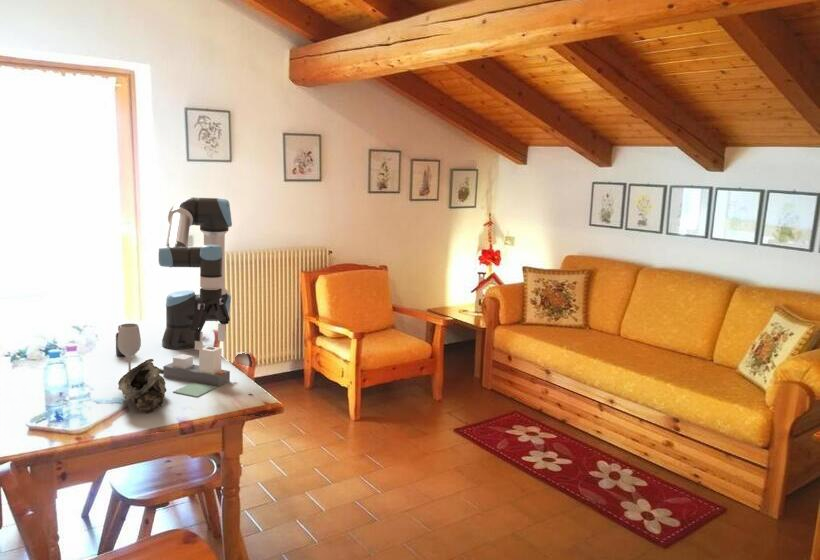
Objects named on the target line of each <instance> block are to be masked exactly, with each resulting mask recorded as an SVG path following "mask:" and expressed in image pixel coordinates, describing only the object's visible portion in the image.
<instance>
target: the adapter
mask: <svg viewBox="0 0 820 560" xmlns="http://www.w3.org/2000/svg"><path fill="white" fill-rule="evenodd" d="M172 363H173V368H179V369H184V370H185V369H187V368H190V367H192V366H193V364H194V356H193V355H188V354H183V353H182V354H179V355H176V356H174V357H173V358H172Z"/></svg>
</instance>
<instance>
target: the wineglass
mask: <svg viewBox="0 0 820 560" xmlns="http://www.w3.org/2000/svg"><path fill="white" fill-rule="evenodd" d="M119 326H120V328H119V331H118V332H119V333H118V332H117V333H118V348H119V351H120V352H121V353H122V354H124V355H125V356H126V358H127V361H128V363H127V364H128V372H129V371H130V370H131V369H132V363H131V362H132V357H134V356H135V355H136V354H137V353H138V352H139V351H140V348H141V347H142V345H141V344H142V340H141V332H140V328H139V324H137V323H132V322H131V323H123V324H120V325H119Z"/></svg>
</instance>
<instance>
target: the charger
mask: <svg viewBox="0 0 820 560" xmlns="http://www.w3.org/2000/svg"><path fill="white" fill-rule="evenodd" d="M198 351H199V353H198V365H199V372H200V373H206V374H211V375H214V374H216V373H217V372H219V371H221V370H222V347H217V346H211V345H206V346H203V350H198Z"/></svg>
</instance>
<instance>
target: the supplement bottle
mask: <svg viewBox="0 0 820 560" xmlns="http://www.w3.org/2000/svg"><path fill="white" fill-rule="evenodd" d="M117 327H118V328H117V331H118V332H116V334H115V355H116V356H117V357H121V358H125V357H126V356H125V355H124V354H122V353H121V352H120V351H119V348H118V333H119V328H120V325H118V326H117ZM126 358H127V357H126Z"/></svg>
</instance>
